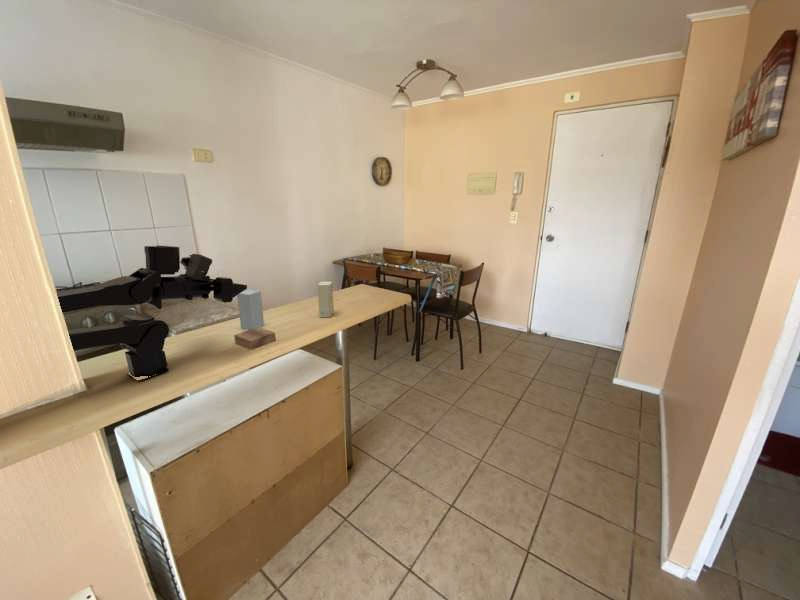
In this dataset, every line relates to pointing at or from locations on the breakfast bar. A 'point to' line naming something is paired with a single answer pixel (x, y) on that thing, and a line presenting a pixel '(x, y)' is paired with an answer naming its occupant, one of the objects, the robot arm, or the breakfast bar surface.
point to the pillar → (250, 309)
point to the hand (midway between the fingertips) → (236, 285)
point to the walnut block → (254, 338)
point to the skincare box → (325, 299)
